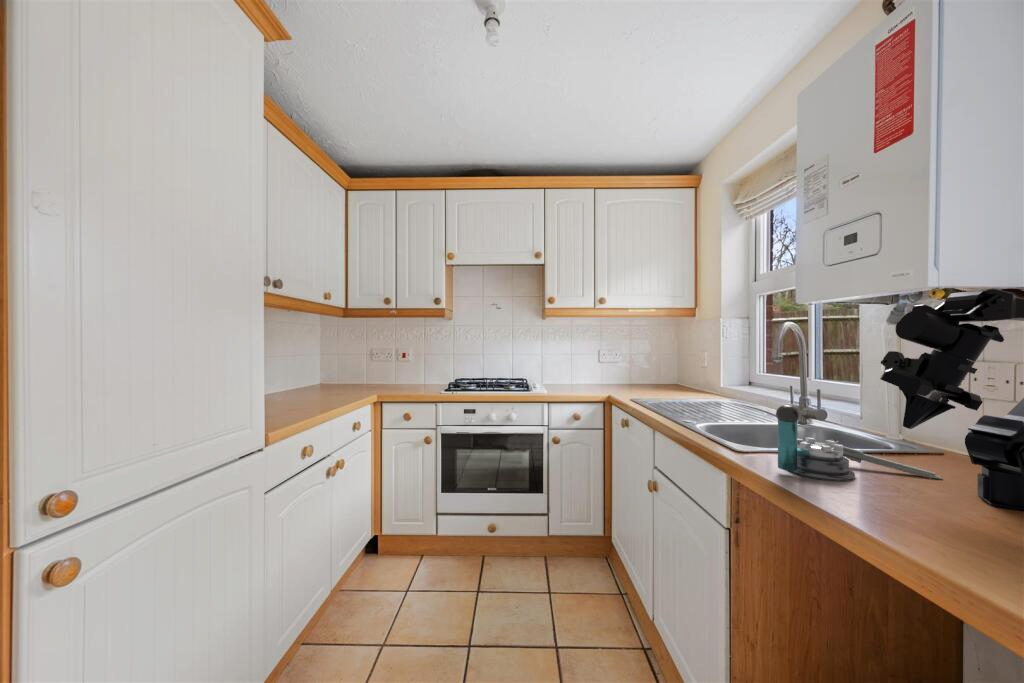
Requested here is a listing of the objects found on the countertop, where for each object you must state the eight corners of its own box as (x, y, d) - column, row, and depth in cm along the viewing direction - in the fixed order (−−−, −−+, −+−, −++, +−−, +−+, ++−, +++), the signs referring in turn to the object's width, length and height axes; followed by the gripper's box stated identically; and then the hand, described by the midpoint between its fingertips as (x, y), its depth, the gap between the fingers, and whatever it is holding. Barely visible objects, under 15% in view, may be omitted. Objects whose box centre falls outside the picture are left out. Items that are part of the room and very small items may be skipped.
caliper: (824, 464, 100) (824, 438, 99) (824, 463, 100) (824, 437, 100) (943, 481, 87) (943, 452, 87) (942, 480, 88) (942, 451, 88)
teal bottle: (853, 469, 90) (853, 405, 90) (798, 475, 86) (799, 408, 86) (813, 458, 99) (813, 399, 98) (762, 463, 94) (762, 402, 94)
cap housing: (849, 468, 95) (850, 454, 95) (859, 485, 84) (859, 468, 84) (783, 459, 102) (783, 446, 102) (784, 474, 91) (784, 458, 91)
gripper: (936, 350, 85) (895, 415, 89) (874, 330, 80) (834, 399, 84) (1005, 372, 75) (955, 443, 79) (940, 350, 70) (890, 428, 74)
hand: (906, 427), depth 79 cm, fingers closed
